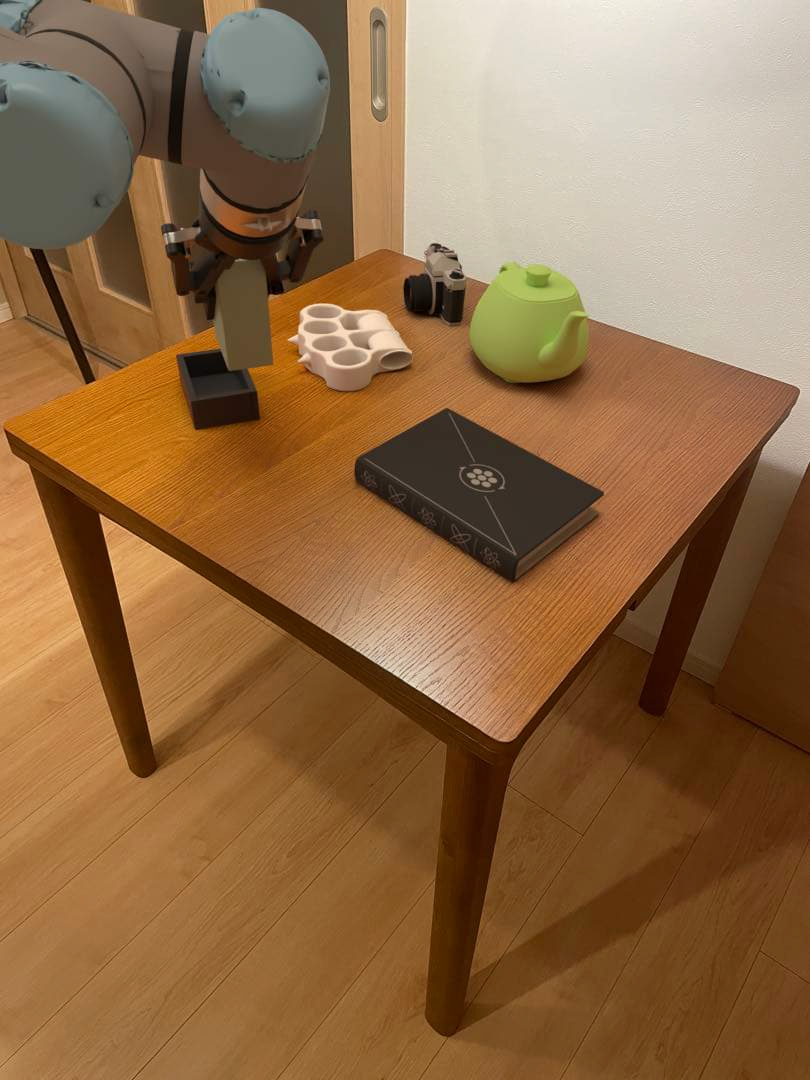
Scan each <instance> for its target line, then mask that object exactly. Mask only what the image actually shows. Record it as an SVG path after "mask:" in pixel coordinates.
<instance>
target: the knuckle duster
mask: <svg viewBox="0 0 810 1080" xmlns="http://www.w3.org/2000/svg"><path fill="white" fill-rule="evenodd" d="M286 341H287V342H289V343H291V344H293V345H295V346H297V347H298V354H299V355H300V356H302V357H300V358H299V359H298V360H297V361H296V363H299V364H302V365H304V366H305V368H306V369H307V370H308V371H309V372H310V373H311V374H313V375H317V376H319V377H321V378H322V379H323V380H325V386H326V387H328V388H329V389H332V390H334V391H339V392H356V391H359V390H362V389H364V388H366V387H368V386H369V385H370V383H371V382H372V379H373V377H374V376H375V375H377V374H379V373H386V372H391V371H396V370H401V369H402V368H405V367H407V366H409V365H410V364H411V363H412V362H413V360H414V355H413V351H412V350H411V349H410V348H408V346H407V345H406V343H405V342H404V340H403V339H402V337H401V336H400V332H399V331H397V330H396V329H395V327H394V326H393V324H392V323H391V321H390V320H389V317H388V315H387V314H386V313H384V312H382V311H381V310H378V309H362V310H354V311H353V310H348V309H344V308H343V307H341V306H340V305H337V304H333V303H313V304H310V305H307V306H305V307H304V308H302V309H301V310H300V312H299V324H298V329H297V334H296V335H293V336H292V337H290V338H288V339H286Z"/></svg>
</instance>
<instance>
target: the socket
mask: <svg viewBox="0 0 810 1080" xmlns="http://www.w3.org/2000/svg"><path fill="white" fill-rule="evenodd" d="M175 358H176V363H177V369H178V375H179V381H180V384H181V388H182V391H183V394H184V398H185V401H186V404H187V408H188V411H189V414H190V417H191V421H192V425H193V427H194V429H195V430H200V429H201V430H202V429H207V428H212V427H213V428H214V427H219V426H224V425H230V424H231V425H232V424H237V423H242V422H249V421H254V420H260V419H261V414H260V406H259V404H260V403H259V395H258V389H257V387H256V385H255V383H254V381H253V378H252V376H251V374H250V371H249V368H248V369H241V370H234V371H229V370H228V368H227V365H226V362H225V360H224V357H223V354H222V352H221V349H220V348H215V349H205V350H200V351H193V352H184V353H178V354H175Z"/></svg>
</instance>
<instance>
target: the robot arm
mask: <svg viewBox="0 0 810 1080" xmlns="http://www.w3.org/2000/svg"><path fill="white" fill-rule="evenodd" d="M330 93H331V78H330V72H329V65H328V63H327V60H326V56H325V55H324V52H323V50H322V48H321V47H320V45H319V44H318V42H317V40H316V39H315V38H314V36H313V34H311V32H309V31H308V30H307V29H306V27H305V26H303V25H302V24H301V23H299V22H298V21H297V20H295V19H293V18H292V17H291V16H289V15H287V14H285V13H283V12H281V11H278V10H275V9H270V8H264V7H256V8H253V9H249V10H243V11H234V12H232V13H229V14H228V15H226V16H225V17H224V18H222V19H221V20H220V21H218V22H217V24H216V25H215V26H214V28H212V30H211V32H210V34H209V33H207V32H206V33H205V32H203V31H198V30H194V31H192V30H189V29H185V28H179V27H176V26H173V25H170V24H165V23H162V22H158V21H155V20H152V19H148V18H145V17H141V16H137V15H134V14H131V13H127V12H123V11H120V10H117V9H114V8H111V7H106V6H103V5H99V4H96V3H92V2H90V1H89V2H88V1H85V0H0V239H2V240H3V241H6V242H9V243H11V244H14V245H16V246H20V247H25V248H29V249H34V250H59V249H65V248H68V247H73V246H76V245H78V244H81V243H82V242H84V241H86V240H87V239H89V238H91V236H94V234H96V233H97V232H98V231H99V230H100V229H101V227H103V226H104V224H106V222H107V220H108V219H109V218H110V216H111V214H112V213H113V212H114V211H115V210H116V209H117V208H119V206H120V203H121V202H122V200H123V197H124V195H125V194H126V193H128V192H129V189H130V187H131V184H132V181H133V178H134V171H135V164H136V163H137V162H136V161H137V159H138V157H139V156H141V157H144V158H145V157H146V158H148V159H149V158H150V159H154V160H158V161H162V162H166V163H170V164H171V163H172V164H176V165H179V166H182V165H184V166H188V167H192V168H196V169H200V170H199V194H198V195H199V197H198V215H197V216H196V217H195V218H194V219H193V220H192V223H191V227H187V228H185V227H178V226H177V225H176V224H174V223H170V222H168V223H164V224H162V225H160V232H161V236H162V241H163V246H164V250H165V254H166V257H167V258H168V259H169V261H170V269H171V275H172V279H173V284H174V289H175V293H176V296H179V297H185V296H188V295H189V294H190V292H192V296H193V297H192V298H193V301H194V303H195V304H197V305H198V304H202V305H203V308H204V313H205V318H206V321H213V320H214V316H215V306H216V292H215V287H214V285H215V283H216V282H217V280H218V279H219V277H220V276H221V274H222V273H223V271H224V270H226V269H230V268H231V266H232V265H233V263H234V262H235V261H236V260H239V259H243V260H260V261H261V263H262V266H263V267H264V269H265V272H266V281H267V293H268V299H269V298H270V296H271V295H272V296H280V295H282V294H284V293H285V288H284V283H283V282H284V281H287V280H289V283H291V284H292V283H293V284H298V283H300V282H301V281H303V277H304V275H305V274H306V273H305V272H306V270H307V267H308V265H309V263H310V260H311V257H312V255H313V252H314V250H315V249H316V248H317V247H318V246H319V245H320V244H321V243H323V242H324V240H325V238H324V233H323V228H322V225H321V220H320V215H319V212H318V210H316V209H311V210H308V211H305V213H303V214H302V215H301V216H299V215H298V214H299V211H300V206H301V204H302V200H303V197H304V193H305V190H306V186H307V183H308V178H309V175H310V171H311V168H312V166H313V162H314V159H315V157H316V152H317V149H318V148H319V147H318V146H319V145H320V144H321V141H322V139H323V131H324V125H325V119H326V115H327V114H326V113H327V108H328V104H329V98H330ZM196 244H197V246H198V247H201V248H202V249H201V250H200V252H199V254H198V255H197V257H196V259H195V260H192V261H191V260H189V259H191V258H192V252H191V251H192V250H193V249H194V246H195V245H196ZM286 245H287V247H286V250H285V254H284V260H281V261H279V259H278V257H277V254H278V253H279V252H280V251H281V250H283V249H284V248H285V246H286Z"/></svg>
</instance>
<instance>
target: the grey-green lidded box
mask: <svg viewBox="0 0 810 1080" xmlns="http://www.w3.org/2000/svg"><path fill="white" fill-rule="evenodd" d="M214 287H215V292H216V306H215V316H214V320H212V322H213V330H214V335H215V338H216V341H217V343H218V346H219V349H221V352H222V354H223V357H224V360H225V362H226V365H227V368H228V370H229V371H234V370H241V369H248V370H249V369H253V368H262V367H268V366H274V355H273V343H272V330H271V319H270V317H271V316H270V305H269V298H268V293H267V281H266V272H265V269H264V267H263V266H262V263H261V261H260V260H243V259H239V260H236V261H235V262H234V263H233V265H232V266H231V268H230V269H226V270H224V271H223V273H222V274H221V276H220V277H219V279H218V280H217V282H216V283H215V285H214Z"/></svg>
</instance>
